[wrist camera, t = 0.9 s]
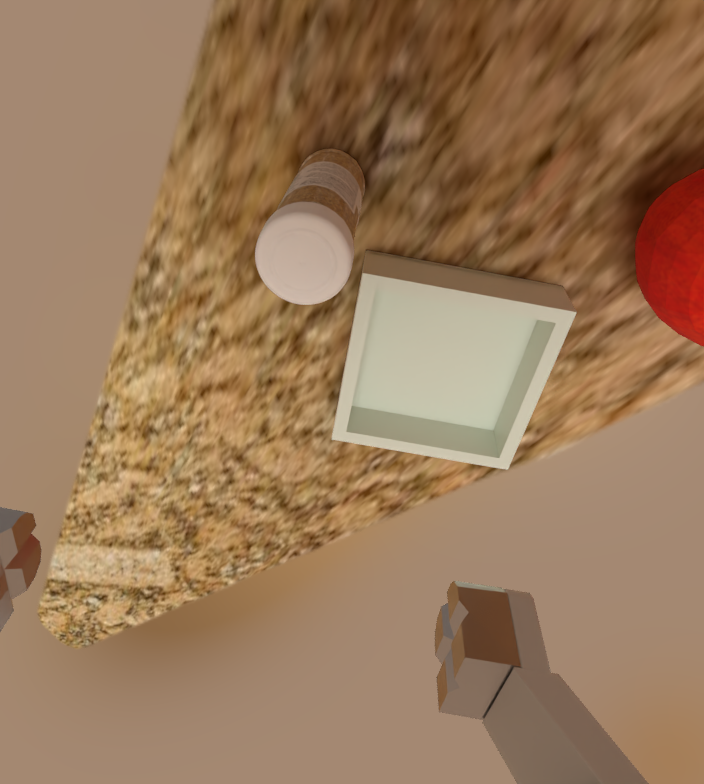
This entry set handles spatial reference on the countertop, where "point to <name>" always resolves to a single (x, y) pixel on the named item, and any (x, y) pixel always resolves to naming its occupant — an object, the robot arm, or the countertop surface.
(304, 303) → the sprinkles bottle
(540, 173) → the countertop surface
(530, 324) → the bin
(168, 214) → the countertop surface
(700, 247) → the apple
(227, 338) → the countertop surface
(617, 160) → the countertop surface
